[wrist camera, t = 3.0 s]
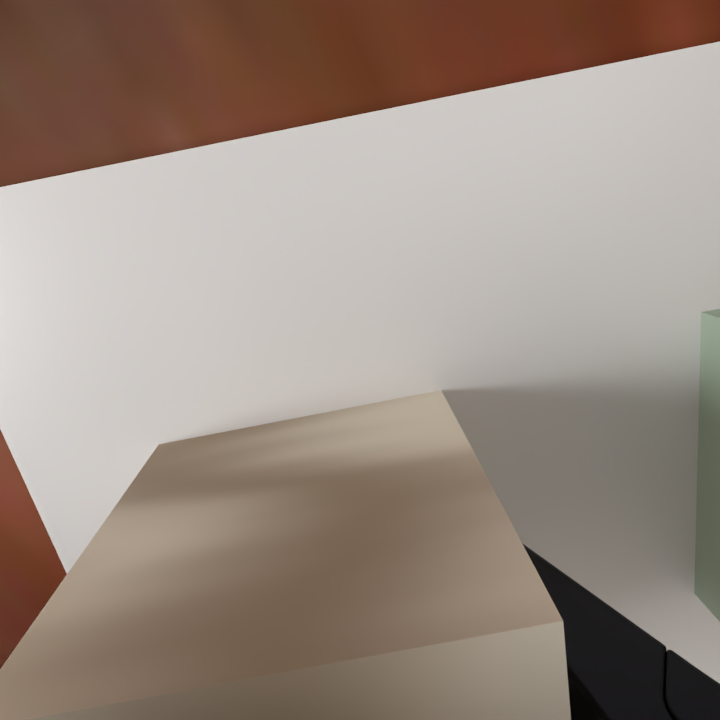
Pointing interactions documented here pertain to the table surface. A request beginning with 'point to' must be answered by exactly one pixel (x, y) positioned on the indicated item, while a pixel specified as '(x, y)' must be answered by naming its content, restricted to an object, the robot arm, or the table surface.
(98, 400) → the pale grey board
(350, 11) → the table surface
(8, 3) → the table surface
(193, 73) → the table surface
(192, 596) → the cream block
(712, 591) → the green block
